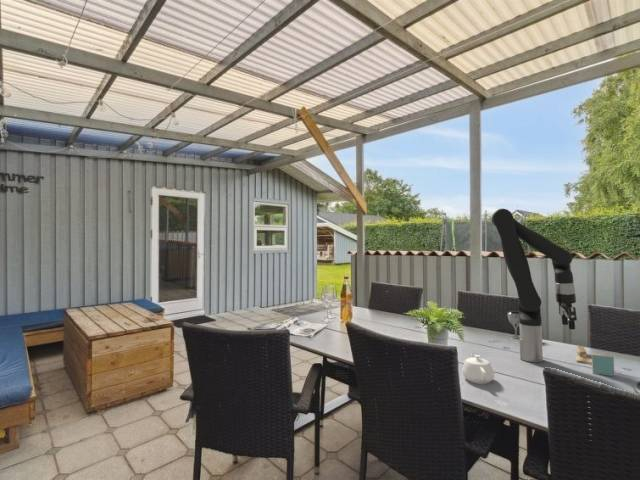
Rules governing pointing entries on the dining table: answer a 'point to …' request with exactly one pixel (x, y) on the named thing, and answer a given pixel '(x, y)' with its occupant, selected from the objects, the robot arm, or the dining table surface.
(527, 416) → the dining table surface
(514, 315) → the wine glass
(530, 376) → the dining table surface
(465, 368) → the teapot
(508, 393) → the dining table surface
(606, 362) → the tile
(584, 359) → the turner
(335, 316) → the dining table surface
